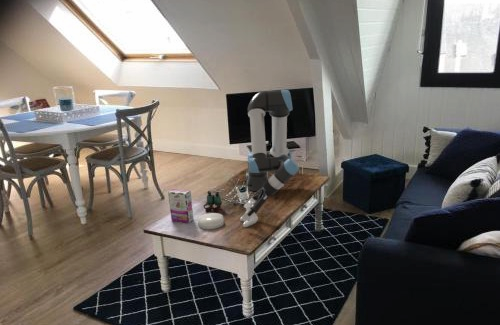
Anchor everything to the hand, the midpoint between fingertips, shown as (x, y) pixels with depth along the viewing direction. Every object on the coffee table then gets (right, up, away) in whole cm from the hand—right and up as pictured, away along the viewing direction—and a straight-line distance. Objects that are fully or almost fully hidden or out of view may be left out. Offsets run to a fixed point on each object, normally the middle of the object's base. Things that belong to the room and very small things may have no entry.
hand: (244, 213), depth 205 cm
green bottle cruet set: (-18, -1, +18) cm, 25 cm away
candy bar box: (-33, -5, +8) cm, 35 cm away
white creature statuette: (+3, -5, +1) cm, 6 cm away
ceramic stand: (-17, -6, +3) cm, 18 cm away
